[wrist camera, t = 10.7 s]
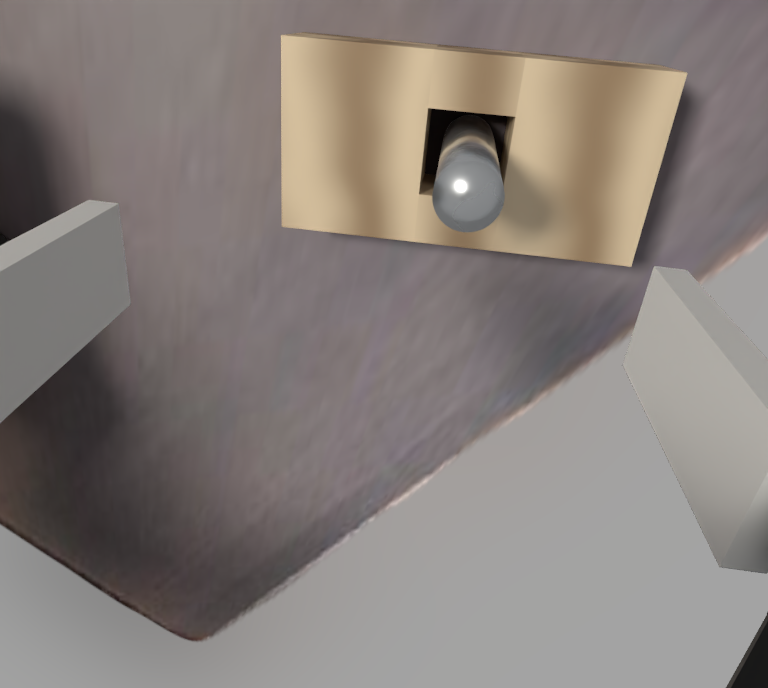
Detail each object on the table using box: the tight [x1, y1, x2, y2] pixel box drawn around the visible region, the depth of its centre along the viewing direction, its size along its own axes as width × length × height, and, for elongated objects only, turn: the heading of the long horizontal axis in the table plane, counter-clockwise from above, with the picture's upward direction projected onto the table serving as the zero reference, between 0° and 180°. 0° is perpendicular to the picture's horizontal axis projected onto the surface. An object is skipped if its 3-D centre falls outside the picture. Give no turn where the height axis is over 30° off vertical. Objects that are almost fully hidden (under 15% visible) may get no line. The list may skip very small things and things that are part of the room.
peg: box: [432, 115, 505, 232], centre depth 31 cm, size 3×3×13 cm
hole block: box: [281, 32, 687, 267], centre depth 35 cm, size 20×10×5 cm, turn 86°
